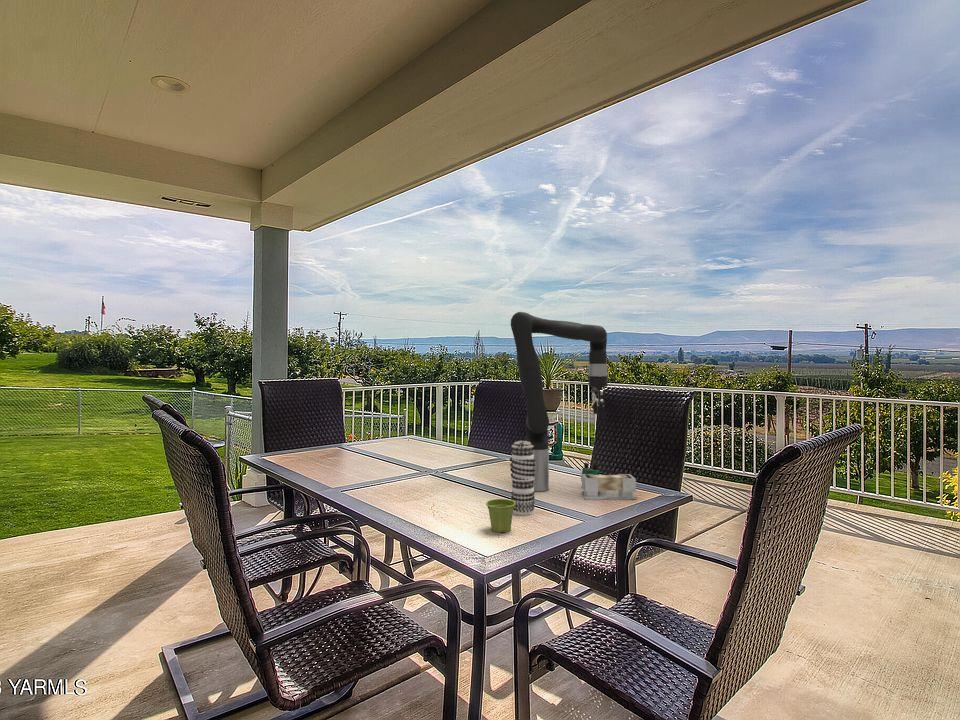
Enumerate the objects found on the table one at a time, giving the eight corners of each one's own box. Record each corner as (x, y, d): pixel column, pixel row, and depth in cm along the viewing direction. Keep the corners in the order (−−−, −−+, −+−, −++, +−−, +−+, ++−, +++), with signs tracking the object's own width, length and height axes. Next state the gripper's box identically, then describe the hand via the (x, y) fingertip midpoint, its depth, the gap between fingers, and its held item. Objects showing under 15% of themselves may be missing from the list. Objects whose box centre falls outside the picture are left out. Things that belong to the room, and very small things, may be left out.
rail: (590, 490, 195) (590, 477, 195) (588, 487, 199) (588, 474, 199) (628, 490, 194) (628, 477, 194) (625, 487, 199) (625, 474, 199)
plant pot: (503, 537, 151) (503, 508, 151) (480, 530, 157) (480, 503, 157) (521, 529, 158) (521, 502, 158) (498, 523, 164) (498, 497, 165)
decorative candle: (517, 516, 172) (516, 444, 172) (505, 509, 180) (505, 440, 180) (540, 513, 175) (539, 442, 175) (528, 506, 184) (527, 439, 184)
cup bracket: (584, 499, 193) (584, 478, 193) (581, 493, 201) (581, 474, 201) (636, 499, 192) (636, 478, 192) (630, 493, 201) (630, 474, 201)
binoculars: (609, 464, 212) (596, 465, 205) (608, 489, 211) (594, 491, 204) (592, 461, 219) (578, 462, 212) (590, 485, 218) (577, 487, 211)
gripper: (585, 374, 208) (585, 413, 208) (592, 375, 194) (592, 416, 194) (603, 374, 208) (603, 413, 208) (611, 375, 194) (611, 416, 193)
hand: (598, 415), depth 201 cm, fingers open, 8 cm apart
